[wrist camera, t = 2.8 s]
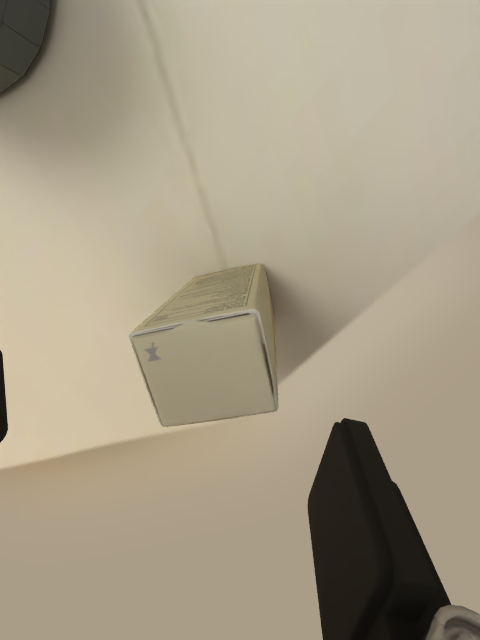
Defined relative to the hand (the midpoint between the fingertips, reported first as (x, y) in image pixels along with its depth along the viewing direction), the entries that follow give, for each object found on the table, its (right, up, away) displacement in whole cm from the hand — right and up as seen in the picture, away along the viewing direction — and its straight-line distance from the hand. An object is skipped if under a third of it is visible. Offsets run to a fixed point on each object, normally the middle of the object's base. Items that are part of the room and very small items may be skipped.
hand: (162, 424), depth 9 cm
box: (+2, +4, +14) cm, 15 cm away
